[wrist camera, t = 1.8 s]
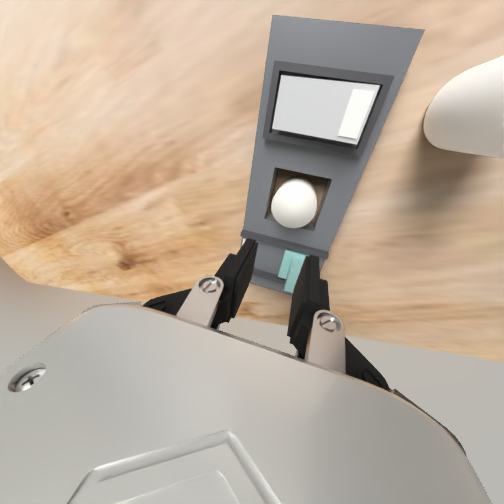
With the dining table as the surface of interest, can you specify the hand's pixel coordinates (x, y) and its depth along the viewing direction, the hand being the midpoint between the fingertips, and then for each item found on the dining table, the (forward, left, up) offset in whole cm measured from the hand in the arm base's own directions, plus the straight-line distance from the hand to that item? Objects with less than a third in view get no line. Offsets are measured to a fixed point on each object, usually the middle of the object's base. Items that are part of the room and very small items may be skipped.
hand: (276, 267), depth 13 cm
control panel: (0, 0, -17) cm, 17 cm away
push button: (0, 0, -16) cm, 16 cm away
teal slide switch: (-2, +9, -14) cm, 17 cm away
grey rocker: (0, -9, -12) cm, 15 cm away
